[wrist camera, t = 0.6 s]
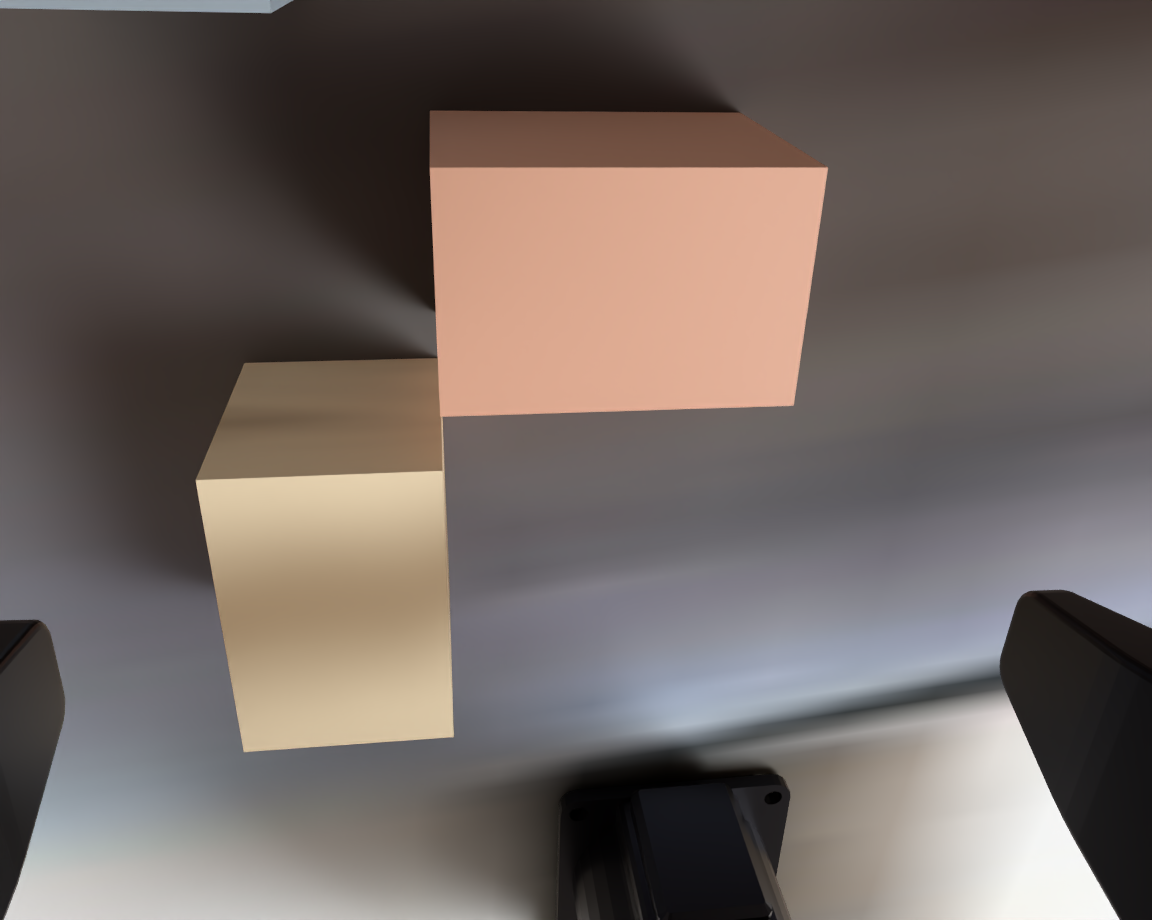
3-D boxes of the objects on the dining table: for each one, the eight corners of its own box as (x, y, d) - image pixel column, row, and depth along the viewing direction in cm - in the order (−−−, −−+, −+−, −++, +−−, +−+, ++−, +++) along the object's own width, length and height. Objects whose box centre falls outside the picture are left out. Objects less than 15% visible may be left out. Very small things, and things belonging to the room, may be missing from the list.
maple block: (449, 588, 24) (453, 737, 20) (278, 597, 23) (244, 752, 19) (440, 356, 21) (442, 470, 17) (245, 361, 21) (195, 480, 16)
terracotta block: (738, 112, 19) (827, 167, 15) (719, 306, 21) (793, 405, 17) (430, 110, 19) (429, 167, 14) (438, 311, 21) (440, 416, 16)
